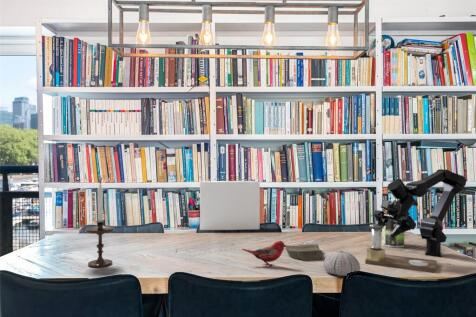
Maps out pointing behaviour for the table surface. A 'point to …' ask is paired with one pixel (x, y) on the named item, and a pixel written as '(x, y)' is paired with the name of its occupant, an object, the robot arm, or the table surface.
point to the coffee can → (388, 240)
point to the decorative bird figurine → (269, 252)
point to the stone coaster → (417, 263)
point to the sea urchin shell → (341, 263)
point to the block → (229, 205)
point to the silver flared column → (376, 236)
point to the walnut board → (404, 263)
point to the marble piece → (305, 252)
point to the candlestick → (100, 233)
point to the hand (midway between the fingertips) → (382, 234)
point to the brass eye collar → (376, 254)
